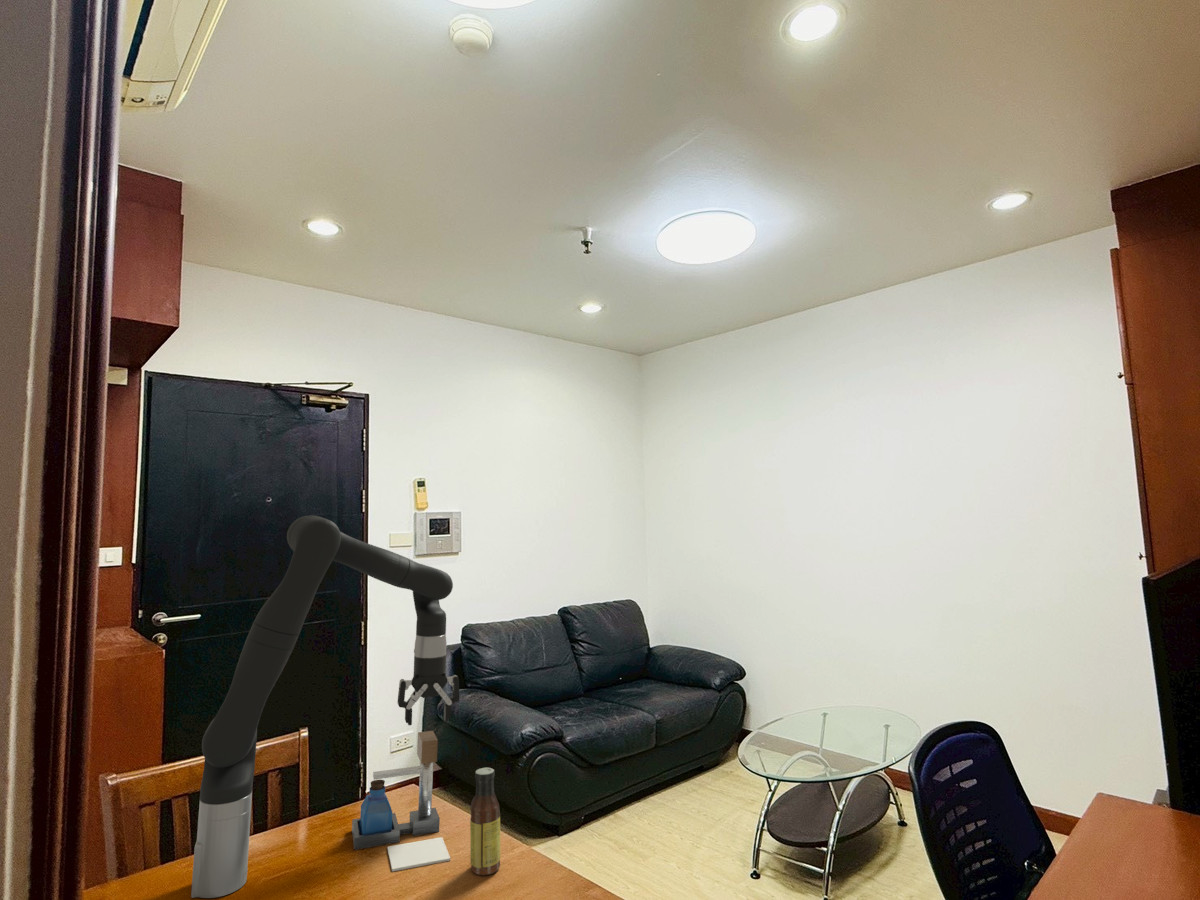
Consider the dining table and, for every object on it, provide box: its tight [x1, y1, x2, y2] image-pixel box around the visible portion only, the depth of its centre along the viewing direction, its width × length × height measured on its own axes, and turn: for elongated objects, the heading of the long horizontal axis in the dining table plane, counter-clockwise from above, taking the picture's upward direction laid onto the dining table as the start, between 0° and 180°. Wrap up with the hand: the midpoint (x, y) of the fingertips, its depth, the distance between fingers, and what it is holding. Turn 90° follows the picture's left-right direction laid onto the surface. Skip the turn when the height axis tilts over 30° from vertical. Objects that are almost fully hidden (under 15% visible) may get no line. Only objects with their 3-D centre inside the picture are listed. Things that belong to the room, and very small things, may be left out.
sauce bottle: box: [469, 767, 502, 876], centre depth 140 cm, size 7×6×20 cm
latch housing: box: [351, 807, 441, 851], centre depth 154 cm, size 19×10×3 cm, turn 113°
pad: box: [387, 836, 451, 873], centre depth 144 cm, size 12×10×1 cm
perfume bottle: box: [359, 779, 393, 835], centre depth 153 cm, size 6×6×12 cm
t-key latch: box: [372, 730, 439, 816], centre depth 156 cm, size 14×7×18 cm, turn 113°
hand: (428, 722), depth 159 cm, fingers open, 8 cm apart
